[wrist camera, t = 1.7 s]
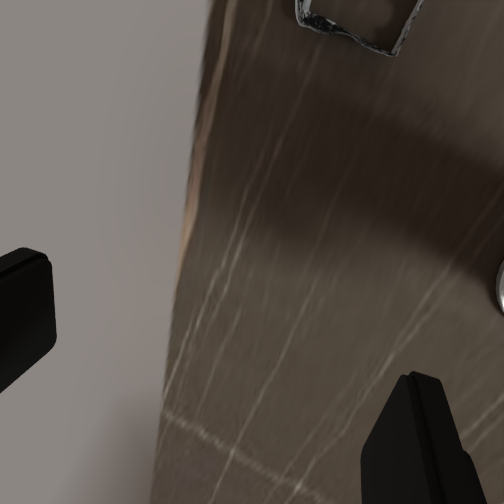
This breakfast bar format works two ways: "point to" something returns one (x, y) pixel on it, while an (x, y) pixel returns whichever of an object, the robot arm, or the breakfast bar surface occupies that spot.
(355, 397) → the breakfast bar surface
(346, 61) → the breakfast bar surface
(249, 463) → the breakfast bar surface
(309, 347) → the breakfast bar surface
